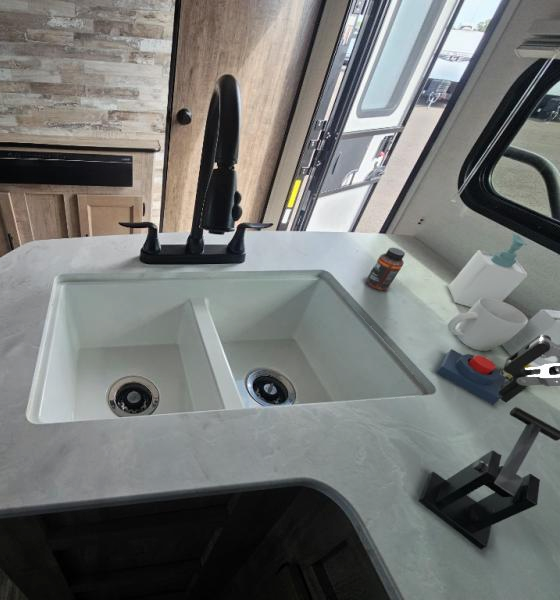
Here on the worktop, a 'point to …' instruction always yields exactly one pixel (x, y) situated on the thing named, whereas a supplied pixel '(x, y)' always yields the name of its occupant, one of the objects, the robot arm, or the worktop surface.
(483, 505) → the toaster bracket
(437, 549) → the worktop surface
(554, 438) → the lever
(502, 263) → the soap bottle
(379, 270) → the supplement bottle
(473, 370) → the button housing
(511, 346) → the cosmetic box
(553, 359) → the supplement bottle
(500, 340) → the mug
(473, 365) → the button
